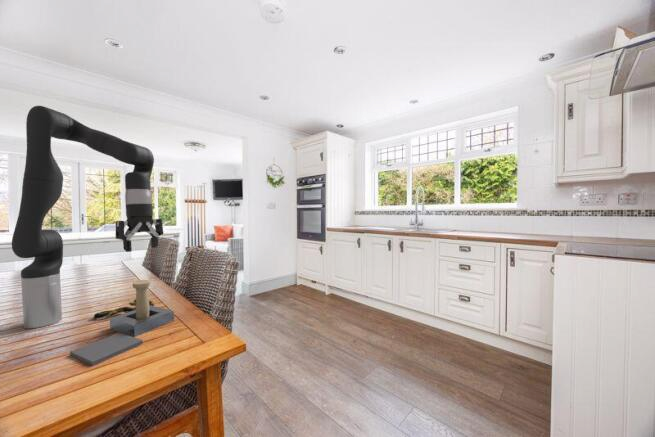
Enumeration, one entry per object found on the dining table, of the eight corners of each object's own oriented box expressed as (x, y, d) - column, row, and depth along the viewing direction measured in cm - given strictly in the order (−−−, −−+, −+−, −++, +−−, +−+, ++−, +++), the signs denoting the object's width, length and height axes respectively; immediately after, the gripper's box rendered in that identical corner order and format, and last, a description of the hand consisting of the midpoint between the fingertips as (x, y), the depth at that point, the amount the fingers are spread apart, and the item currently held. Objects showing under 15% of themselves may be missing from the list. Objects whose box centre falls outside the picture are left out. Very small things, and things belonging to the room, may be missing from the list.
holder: (110, 328, 87) (109, 318, 87) (150, 314, 99) (149, 305, 99) (134, 336, 81) (134, 325, 81) (174, 320, 93) (173, 310, 93)
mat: (70, 355, 71) (70, 351, 71) (120, 335, 82) (119, 332, 82) (92, 365, 66) (92, 361, 66) (142, 343, 77) (142, 340, 77)
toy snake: (91, 307, 93) (101, 301, 102) (91, 320, 93) (101, 313, 102) (150, 301, 101) (155, 296, 110) (150, 313, 101) (155, 307, 110)
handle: (136, 329, 86) (135, 285, 86) (132, 323, 91) (131, 281, 90) (153, 324, 90) (152, 282, 89) (149, 319, 94) (147, 278, 94)
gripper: (152, 203, 97) (155, 246, 98) (108, 203, 84) (111, 252, 85) (166, 202, 94) (168, 246, 95) (122, 202, 81) (125, 253, 82)
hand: (141, 249), depth 90 cm, fingers open, 8 cm apart
